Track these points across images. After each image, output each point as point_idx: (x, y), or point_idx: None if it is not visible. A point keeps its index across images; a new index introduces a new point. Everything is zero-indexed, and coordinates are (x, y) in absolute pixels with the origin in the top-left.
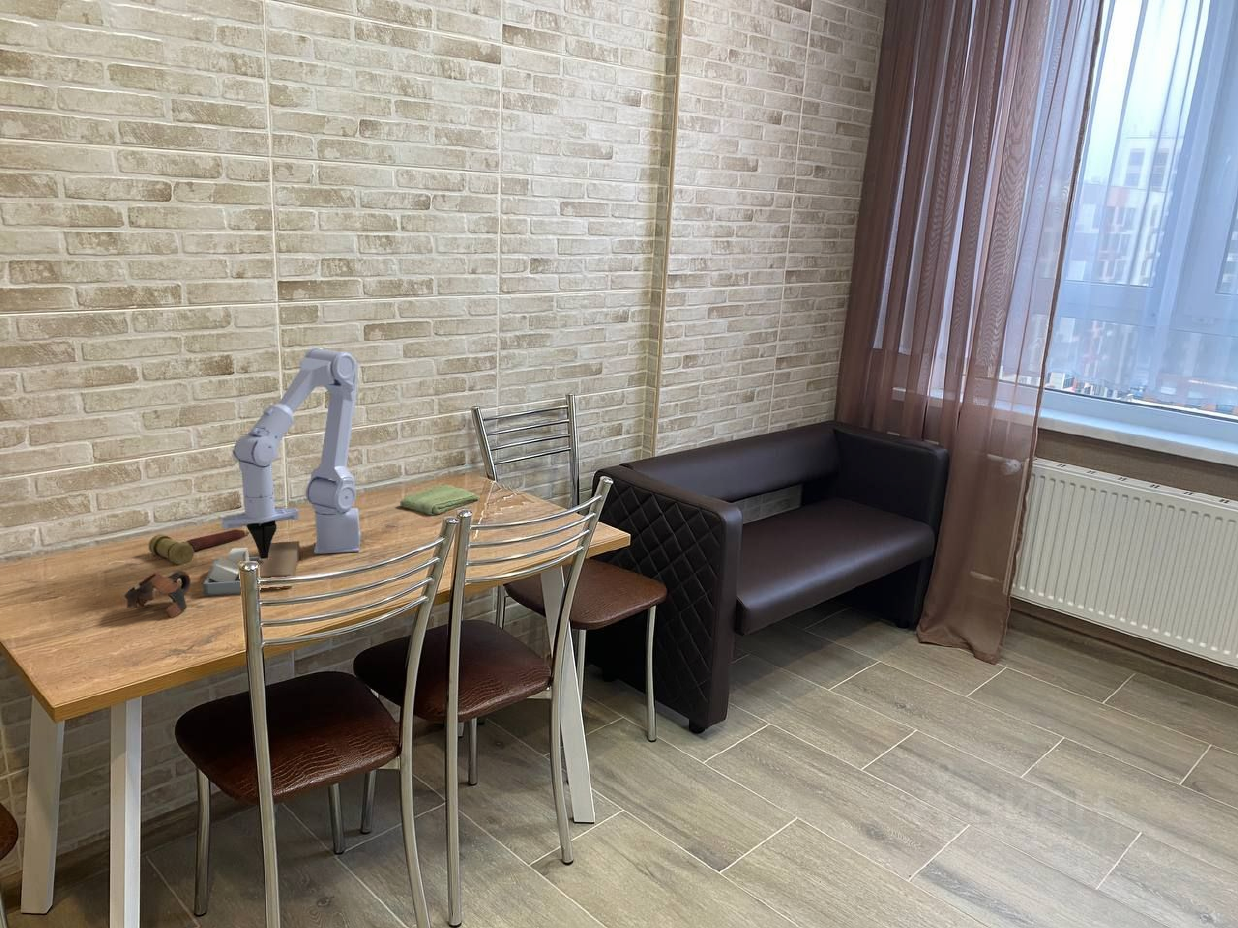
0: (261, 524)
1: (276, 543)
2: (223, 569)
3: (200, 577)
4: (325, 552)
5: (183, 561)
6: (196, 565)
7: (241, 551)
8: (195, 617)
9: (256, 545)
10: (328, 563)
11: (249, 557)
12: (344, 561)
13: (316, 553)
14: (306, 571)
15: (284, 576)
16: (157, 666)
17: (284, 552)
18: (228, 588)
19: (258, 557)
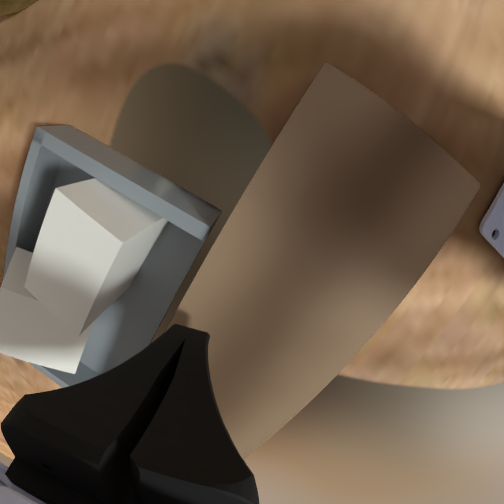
0: (132, 502)
1: (379, 120)
2: (25, 358)
3: (20, 164)
4: (501, 255)
5: (24, 3)
6: (45, 34)
7: (81, 281)
8: (19, 393)
9: (143, 350)
10: (445, 340)
11: (162, 203)
12: (480, 351)
13: (482, 235)
14: (350, 362)
15: None
16: (8, 450)
17: (336, 295)
18: None
19: (203, 234)
